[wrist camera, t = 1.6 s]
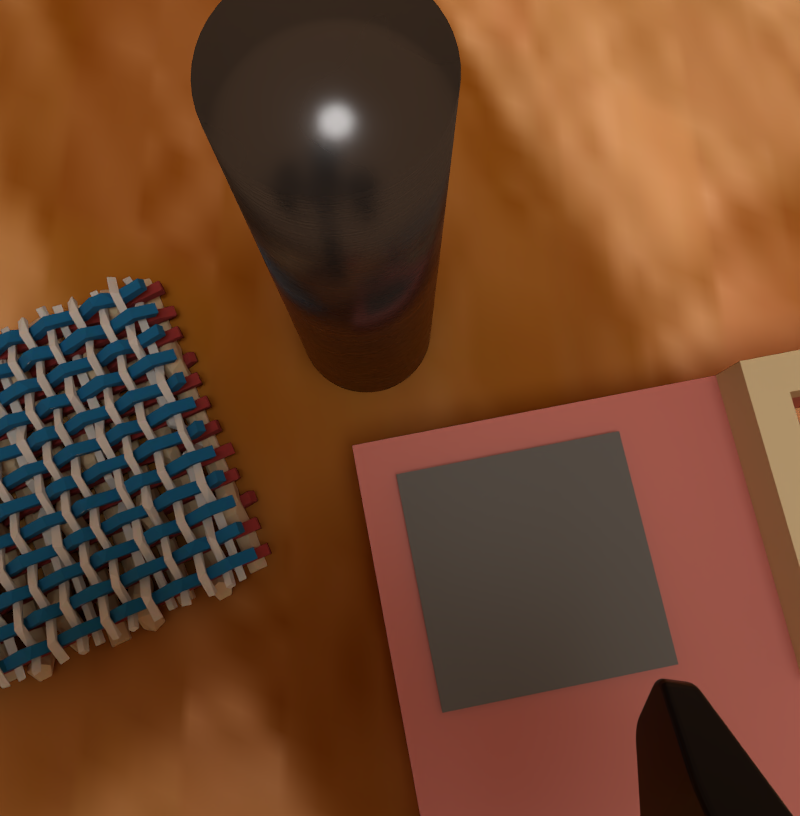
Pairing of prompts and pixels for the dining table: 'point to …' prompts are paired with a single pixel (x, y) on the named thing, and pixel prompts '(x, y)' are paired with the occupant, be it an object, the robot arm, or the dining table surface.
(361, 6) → the stool leg
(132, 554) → the woven mat
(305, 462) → the dining table surface
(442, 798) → the pink control box
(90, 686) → the dining table surface
